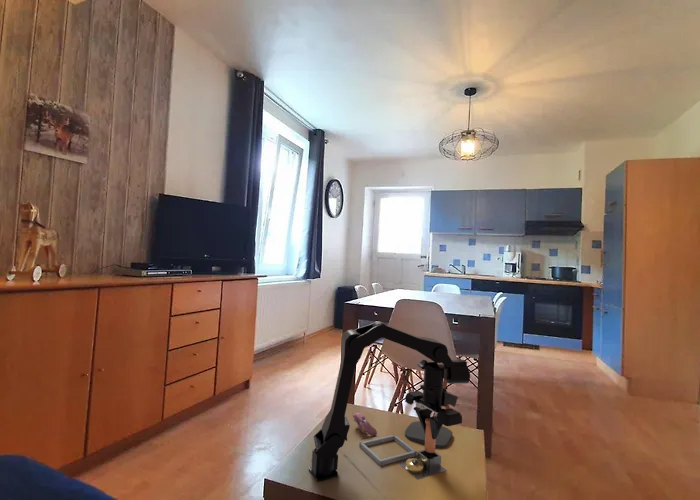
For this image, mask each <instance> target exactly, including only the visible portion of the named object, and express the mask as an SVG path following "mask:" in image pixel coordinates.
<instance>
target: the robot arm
mask: <svg viewBox="0 0 700 500" xmlns="http://www.w3.org/2000/svg"><path fill="white" fill-rule="evenodd" d="M340 339H341V340H340V365H339V369H338V374H337V378H336V379H337V380H336V384H335V388H334V392H333V397H332V403H331V407H330V409H329V412H328V413H327V414H326V416H325V418H324V421H323V423H322V426H321V428H320V429H319V430H318V431H317V432H316V433H315V434H314V436H313V440H314V447H315V448H314V449H312V450H311V451H312V452H311V453H312V454H311V465H310V466H309V467H308V470H309V472H310V473H311V474H312V476H313V477H314V479H315V480H316V481H317V482H321V481H324V480H329V479H331V478H336V477H339V475H340V474H339V472H338V466H339V465H338V464H339V455H338V452H339V450H340V449H341V448H342V447H344V444H345V441H346V442H347V441H348V434H349V433H348V432H349V431H350V427H351V425H350V422H349V420H348V418H347V416H346V411H347V406H348V403H349V398H350V394H351V389H352V383H353V379H354V374H355V370H356V365H358V362H359V361H360V359H361V358H362V354H363V352H364V350H365V349H366V348H367V347H369V346H371V345H373V344H374V343H376V342H377V341H378V340H379V339H386V340H388V341H390V342H393V343H395V344H398V345H401V346H404V347H406V348H409V349H412V350H414V351H416V352H418V353H420V354H421V355H423V356H424V357H426V358H427V359H429V360H431V361H428V360H426V359H425V358H422V360H421V361H420V362H418V363H417V367H419V368H420V369H421V370H424V371H423V384H420V386H419V387H420V388H419V389H421V390H422V391H420V390H416V391H410V392H407V393H406V394H405V403H407V404H409V405H411V406H412V405H413V404H414V403H415V406H413V411H415V413H416V415H417V418H418V419H419V420H418V421H420V422H421V425H422V427H423V430H424V433H426V423H425V418H428V417H429V420H430V427H431V434H432V438H433V439H436V438H437V436H438V433H439V431H440V429H441V427H442V426H444V427H452V426H456V425H460V424H462V423H463V415H462V413H461V412H459V411H457V410H456V409H453V408H452V407H454V408H455V407H456V405H457V402H458V399H459V396H457V395H455V394H453V393H451V392H449V391H448V390H447V388H446V387H445V386H444V381H446V383H448V384H450V385H453V384H455V385H456V384H457V385H458V384H459V385H460V384H466V385H467V384H469V383H470V381H471V380H470V379H471V372H470V369H469V366H468V361H467V360H464V359H456V360H455V359H451V357H450V355H449V349H448V347H447V345H446V344H444V343H442V342H440V341H438V340H437V339H435V338H430V337H425V336H422V337H421V336H418V335H417V336H416V335H414V334H411V333H408V332H406V331H403V330H401V329H398V328H396V327H393V326H390V325H388V324H386V323H384V322H383V321H379V320H376V321H374V322H372V323H371V324H367V325H364V326H360V327H358V328H356V329H348V330H346V331H344V332H343V333H342V335H341V337H340ZM448 405H450V406H452V407H450V408H449V407H448ZM443 407H448V408H443ZM432 413H434V414H433V415H434V416H431V414H432Z"/></svg>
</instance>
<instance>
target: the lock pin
mask: <svg viewBox="0 0 700 500" xmlns="http://www.w3.org/2000/svg"><path fill="white" fill-rule="evenodd" d="M425 423H426V433H425V445H424V449H425V451H426V452H429V453H434V452H436V448H435V441H436V439H433V438H432V434H431V427H430V420H429V417H428V418H425Z"/></svg>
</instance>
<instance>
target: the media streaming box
mask: <svg viewBox="0 0 700 500" xmlns="http://www.w3.org/2000/svg"><path fill="white" fill-rule="evenodd" d="M404 437H405V438H406V439H407V440H409V441H410V442H411V441H412V442H414V443H418V444H421V445H423V446H425V433H424V430H423V427H422V425H421V422H420V420H417V421H416V420H415V421H412V422H411V423H410V424H409V425H408V426H407V427H406V428H405V431H404ZM452 438H453V431H452V430H451V429H449V428H448V427H447V426H445V425H442V427H441V429H440V431H439V433H438V436H437V438H436V441H435V449H445V448H447V447H448V445H449V444H450V443H451V440H452Z"/></svg>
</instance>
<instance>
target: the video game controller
mask: <svg viewBox="0 0 700 500" xmlns="http://www.w3.org/2000/svg"><path fill="white" fill-rule="evenodd" d="M352 418H353V419H352V421H353V422H355V423H356V424H357V426H358V428H359V430H361V432H362V433H363V434H368V435H370V436H371V437H375V436H377V434H378V431H377V429H376V428H375V427H373V425H371V423H370V422H369V420H368V419H367V417H366V415H364V414H363V413H360V412H359V411H358V412H356V413H354V414H353V415H352Z"/></svg>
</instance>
